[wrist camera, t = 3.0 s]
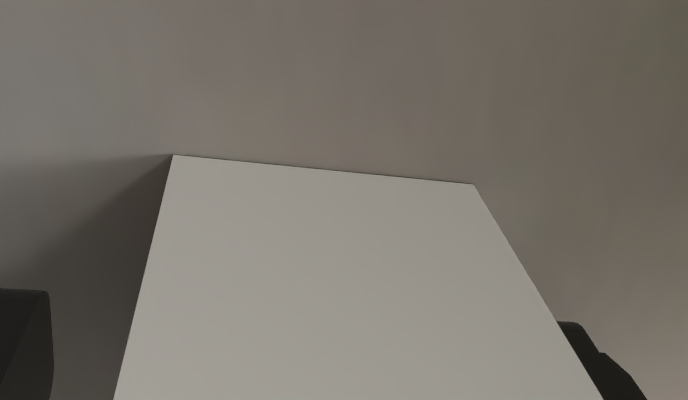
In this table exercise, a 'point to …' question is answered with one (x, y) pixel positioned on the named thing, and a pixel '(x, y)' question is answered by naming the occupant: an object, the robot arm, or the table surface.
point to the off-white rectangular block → (337, 294)
